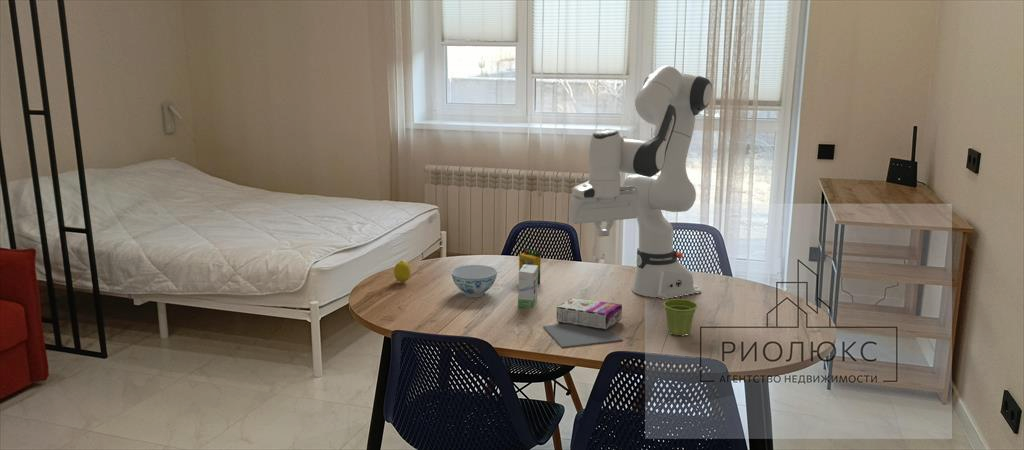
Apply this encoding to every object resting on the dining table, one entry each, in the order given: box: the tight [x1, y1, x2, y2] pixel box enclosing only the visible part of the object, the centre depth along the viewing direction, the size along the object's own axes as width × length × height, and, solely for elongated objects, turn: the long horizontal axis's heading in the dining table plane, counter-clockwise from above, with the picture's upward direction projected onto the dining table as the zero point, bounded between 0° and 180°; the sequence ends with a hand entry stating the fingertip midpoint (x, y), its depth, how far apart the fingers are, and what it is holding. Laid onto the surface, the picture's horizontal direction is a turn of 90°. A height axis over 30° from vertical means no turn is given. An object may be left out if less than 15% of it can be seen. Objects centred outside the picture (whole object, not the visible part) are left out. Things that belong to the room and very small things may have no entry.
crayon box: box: [518, 247, 542, 285], centre depth 266 cm, size 7×3×12 cm, turn 49°
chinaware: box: [450, 264, 498, 298], centre depth 255 cm, size 15×15×8 cm
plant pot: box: [663, 298, 698, 336], centre depth 222 cm, size 9×9×9 cm
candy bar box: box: [556, 297, 623, 329], centre depth 230 cm, size 11×5×16 cm
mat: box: [542, 323, 624, 349], centre depth 222 cm, size 18×16×1 cm
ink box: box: [517, 264, 539, 309], centre depth 245 cm, size 9×5×12 cm, turn 168°
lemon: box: [393, 260, 411, 284], centre depth 266 cm, size 6×6×8 cm
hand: (603, 235), depth 220 cm, fingers closed
